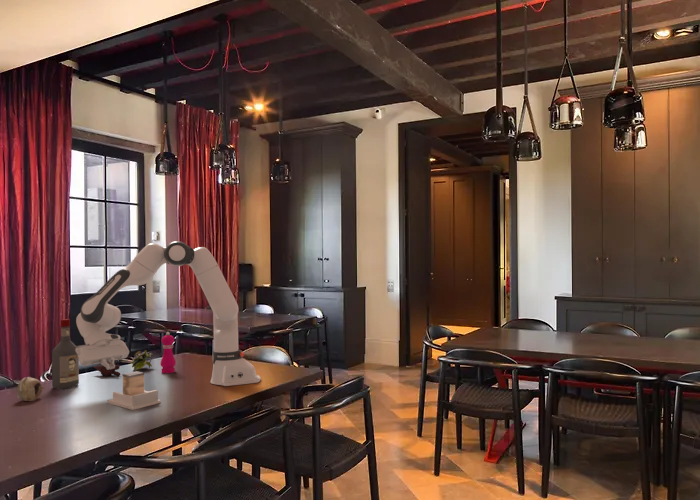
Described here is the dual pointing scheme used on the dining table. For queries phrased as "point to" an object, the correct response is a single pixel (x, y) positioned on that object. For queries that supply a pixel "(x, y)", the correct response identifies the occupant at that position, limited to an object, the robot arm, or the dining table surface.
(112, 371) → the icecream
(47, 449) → the dining table surface
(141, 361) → the passion flower
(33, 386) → the tan rounded lump
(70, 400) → the dining table surface
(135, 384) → the light wood tall block
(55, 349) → the liquor
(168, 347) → the pepper mill
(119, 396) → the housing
